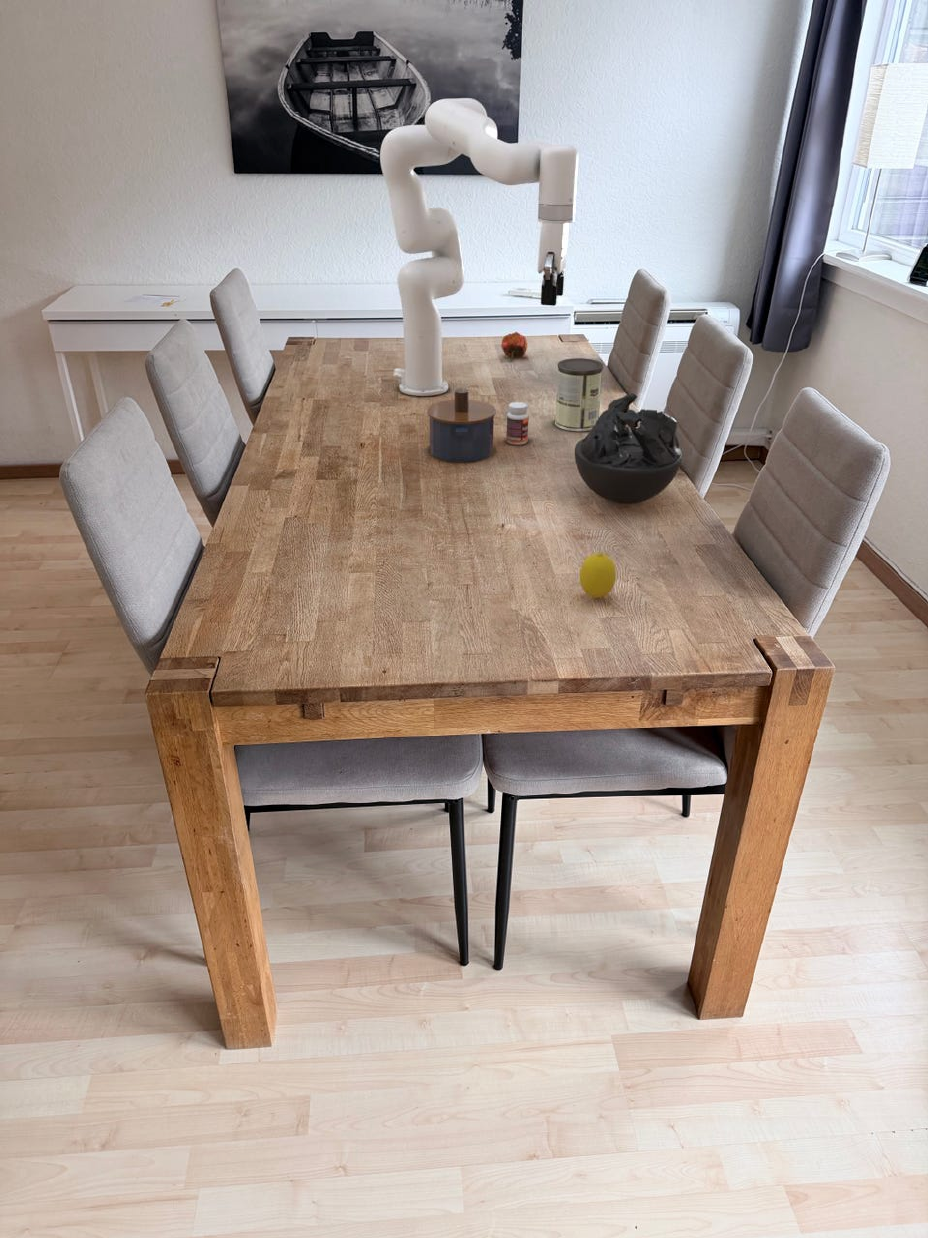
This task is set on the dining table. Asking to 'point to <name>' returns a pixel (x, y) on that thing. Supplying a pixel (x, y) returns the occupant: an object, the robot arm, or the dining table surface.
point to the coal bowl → (629, 453)
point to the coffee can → (578, 394)
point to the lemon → (598, 575)
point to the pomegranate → (514, 345)
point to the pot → (461, 441)
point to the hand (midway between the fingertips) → (552, 299)
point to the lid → (461, 410)
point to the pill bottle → (517, 423)
